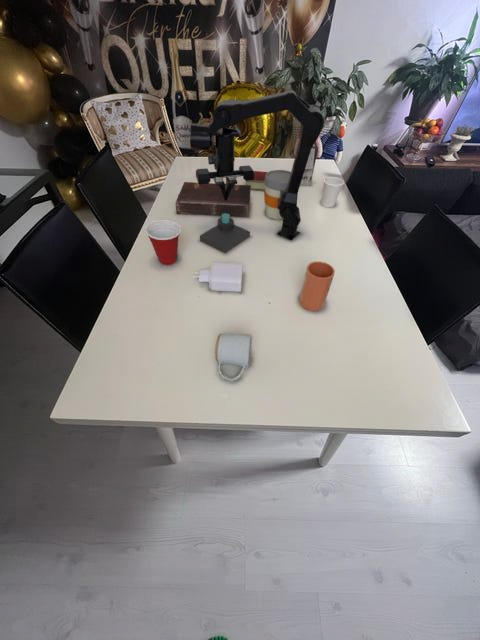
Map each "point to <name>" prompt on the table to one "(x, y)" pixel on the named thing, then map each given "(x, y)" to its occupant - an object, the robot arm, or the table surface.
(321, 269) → the cup
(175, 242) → the plastic cup
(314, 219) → the table surface
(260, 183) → the hardcover book
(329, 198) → the dixie cup
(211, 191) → the hardback book
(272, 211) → the reusable coffee cup
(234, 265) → the charger
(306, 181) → the coffee box
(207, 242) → the dark grey base plate
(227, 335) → the ceramic mug
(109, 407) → the table surface
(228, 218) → the button
